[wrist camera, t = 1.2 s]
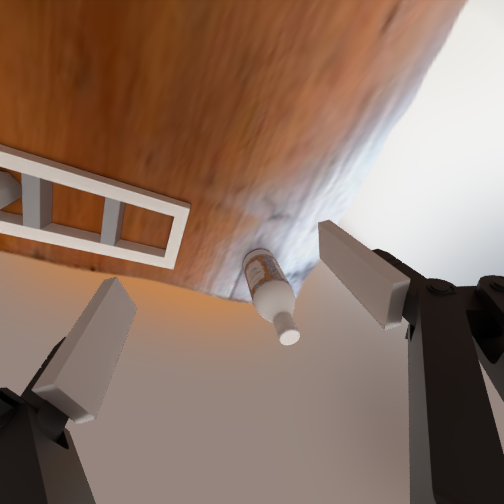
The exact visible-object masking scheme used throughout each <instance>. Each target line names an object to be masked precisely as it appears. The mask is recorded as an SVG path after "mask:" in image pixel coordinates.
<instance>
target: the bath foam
mask: <svg viewBox="0 0 504 504" xmlns="http://www.w3.org/2000/svg"><path fill="white" fill-rule="evenodd" d="M243 268H244V272H245V276H246V280H247V283H248V287H249V290H250V294H251V297H252V301H253V304H254V306H255V308H256V310H257V312H258V313H259V314H260V316H262V317H263V318H264V319H265V320H267V321H269V322H271V323H273V324H274V327H275V330H276V332H277V335H278V338H279V340H280V342H281V343H282V344H284V345H291V344H294V343H295V342H297V341H298V339H299V337H300V333H299V330H298V328H297V326H296V324H295V322H294V320H293V318H292V314H293V311H294V307H295V296H294V293H293V290H292V288H291V286H290V284H289V282H288V281H287V279H286V277H285V275H284V273H283V272H282V270H281V268H280V266H279V265H278V263H277V261H276V259H275V258H274V256H273V255H272V253H270V252H269V251H267V250H263V249H259V250H255V251H252V252H251V253H249V254H248V255H247V256H246V258H245V259H244V262H243Z"/></svg>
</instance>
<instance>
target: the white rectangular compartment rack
mask: <svg viewBox="0 0 504 504" xmlns="http://www.w3.org/2000/svg"><path fill="white" fill-rule="evenodd" d="M0 167H4V168H7V169H11V170H14V171H18V172H21V174H22V203H23V216H21V215H17V214H13V213H8V212H4V211H0V233H3V234H8V235H13V236H17V237H22V238H27V239H32V240H36V241H41V242H46V243H51V244H55V245H60V246H65V247H69V248H74V249H79V250H84V251H88V252H93V253H98V254H103V255H107V256H112V257H117V258H121V259H126V260H131V261H136V262H140V263H145V264H150V265H155V266H159V267H164V268H169V269H174V265H175V261H176V258H177V254H178V250H179V247H180V243H181V240H182V236H183V232H184V229H185V225H186V221H187V218H188V214H189V211H190V206H191V204H189V203H186V202H183V201H180V200H176V199H173V198H170V197H167V196H164V195H160V194H157V193H154V192H151V191H148V190H144V189H141V188H138V187H135V186H132V185H129V184H125V183H122V182H119V181H116V180H113V179H109V178H106V177H103V176H100V175H97V174H93V173H90V172H87V171H84V170H81V169H77V168H74V167H71V166H68V165H65V164H61V163H58V162H55V161H52V160H49V159H46V158H42V157H39V156H36V155H33V154H30V153H26V152H23V151H20V150H17V149H14V148H10V147H7V146H4V145H1V144H0ZM53 182H56V183H59V184H63V185H66V186H70V187H73V188H77V189H80V190H84V191H87V192H91V193H94V194H97V195H101V196H104V197H105V206H104V214H103V223H102V232H101V234H97V233H93V232H89V231H84V230H80V229H76V228H72V227H68V226H63V225H59V224H55V223H52V189H53ZM125 203H129V204H132V205H136V206H139V207H143V208H146V209H150V210H153V211H157V212H160V213H164V214H167V215H170V216H174V221H173V225H172V229H171V233H170V237H169V241H168V245H167V249H166V250H164V249H160V248H156V247H152V246H148V245H143V244H139V243H135V242H131V241H127V240H122V239H120V235H121V229H122V222H123V216H124V209H125Z"/></svg>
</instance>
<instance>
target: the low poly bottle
mask: <svg viewBox="0 0 504 504" xmlns="http://www.w3.org/2000/svg"><path fill="white" fill-rule="evenodd" d="M21 197H22V189H21V185H20V183H19V182H18V181H17V180H16V179H15V178H14V177H13V176H11V175H10V174H9V173H8V172H3V171H0V209H2V208H3V207H5V206H7V205H9V204H10V203H12V202H14V201H16V200H17V199H19V198H21Z"/></svg>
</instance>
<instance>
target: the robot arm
mask: <svg viewBox="0 0 504 504" xmlns="http://www.w3.org/2000/svg"><path fill="white" fill-rule="evenodd" d="M318 230H319V253H320V258H321V260H322V261H323V262H324V263H325V264H326V265H327V266H328V267H329V268H330V270H331V271H332V272H333V273H334V274H335V275H336V276H337V277H338V279H339V280H340V281H341V282H342V283H343V284H344V285H345V286H346V287H347V289H348V290H349V291H350V292H351V293H352V294H353V295H354V296H355V297H356V299H357V300H358V301H359V302H360V303H361V304H362V305H363V306H364V307H365V309H366V310H367V311H368V312H369V313H370V314H371V315H372V316H373V318H374V319H375V320H376V321H377V322H378V323H379V324H380V325H381V326H382V328H383V329H384V330H387V329H390V328H394V327H397V326H400V324H401V319H402V316H403V317H404V318H405V319H406V320H407V321H408V322H409V325H408V329H407V333H406V337H405V338H406V339H408V374H409V446H410V447H409V449H410V504H504V454H503V450H502V447H501V442H500V439H499V435H498V431H497V428H496V424H495V420H494V417H493V412H492V409H491V405H490V401H489V398H488V394H487V390H486V386H485V382H484V379H483V375H482V371H481V367H480V364H479V361H480V363H481V364H482V366H483V368H484V370H485V371H486V373H487V375H488V376H489V378H490V380H491V381H492V383H493V385H494V386H495V388H496V390H497V391H498V393H499V395H500V396H501V398H502V400H503V401H504V277H503V276H495V275H491V276H490V275H489V276H484V277H481V278H480V280H479V282H478V284H477V286H460V287H456V286H454V285H453V284H452V283H450V282H447V281H445V280H441V279H433V278H429V279H427V278H425V277H424V276H422V275H421V274H419V273H418V272H416V271H415V270H413V269H412V268H410V267H409V266H407V265H406V264H404V263H402V262H401V261H400V260H398V259H396V258H395V257H394V256H393V255H391V254H390V253H388V252H385V251H382V250H380V249H375V250H370V249H368V248H367V247H366V246H364V245H363V244H362V243H360V242H359V241H357V240H356V239H355V238H353V237H352V236H351V235H349V234H348V233H347V232H345V231H344V230H343V229H341V228H340V227H338V226H337V225H336V224H334V223H333V222H332V221H330V220H327V221H323V222H319V223H318ZM136 310H137V307H136V306H135V304H134V303H133V301H132V300H131V298H130V297H129V295H128V293H127V292H126V290H125V289H124V287H123V286H122V284H121V283H120V281H119V280H118V278H117V277H114V278H110V279H106V280H104V281H103V283H102V284H101V286H100V287H99V289H98V290H97V292H96V293H95V295H94V296H93V298H92V299H91V301H90V302H89V304H88V305H87V307H86V308H85V310H84V311H83V313H82V314H81V316H80V317H79V319H78V320H77V322H76V323H75V325H74V327H73V328H72V329H71V331H70V332H69V334H68V335H67V337H64V338H63V339H62V340H61V341H60V342H59V343H58V344H57V345H56V346H55V347H54V348H53V350H52V351H51V353H50V354H49V355H48V357H47V359H46V360H45V361H44V363H43V364H42V366H41V368H40V369H39V370H38V372H37V373H36V374H35V376H34V377H33V379H32V380H31V382H30V383H29V384H28V386H27V387H26V389H25V390H24V392H23V393H22V395H21V396H18V395H17V394H15V393H14V392H12V391H11V390H9V389H8V388H0V504H96V503H95V500H94V498H93V495H92V492H91V489H90V487H89V484H88V481H87V478H86V476H85V473H84V470H83V467H82V465H81V462H80V459H79V457H78V454H77V451H76V448H75V446H74V443H73V440H72V438H71V435H70V432H69V431H68V430H67V429H66V428H65V425H66V423H67V421H68V419H69V418H70V419H71V420H73V421H74V422H75V423H77V424H80V423H83V422H87V421H90V420H93V419H96V418H97V415H98V412H99V409H100V407H101V404H102V401H103V399H104V396H105V393H106V391H107V388H108V385H109V383H110V380H111V377H112V375H113V372H114V369H115V367H116V364H117V361H118V359H119V356H120V353H121V350H122V348H123V345H124V343H125V340H126V337H127V334H128V332H129V328H130V326H131V324H132V321H133V318H134V316H135V313H136ZM478 359H479V360H478Z"/></svg>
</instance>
